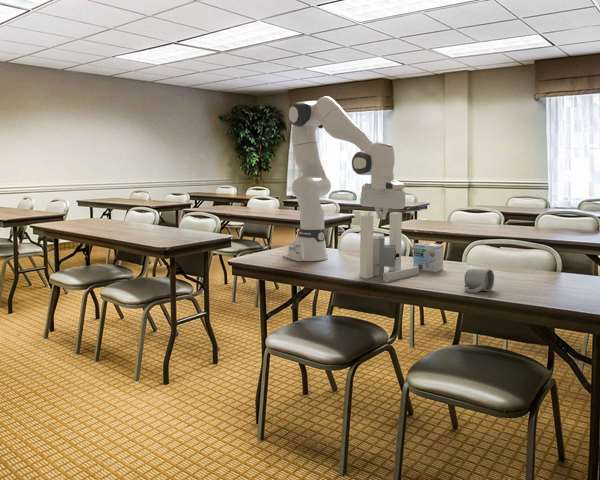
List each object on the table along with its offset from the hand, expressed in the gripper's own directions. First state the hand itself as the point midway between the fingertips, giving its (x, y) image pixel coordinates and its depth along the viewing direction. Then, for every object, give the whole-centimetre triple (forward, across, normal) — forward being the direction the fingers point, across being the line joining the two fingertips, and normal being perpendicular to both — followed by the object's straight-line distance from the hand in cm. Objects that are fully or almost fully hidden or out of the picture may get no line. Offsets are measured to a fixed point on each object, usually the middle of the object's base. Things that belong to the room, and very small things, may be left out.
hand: (381, 219), depth 211 cm
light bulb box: (+22, +8, +21) cm, 32 cm away
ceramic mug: (+22, +42, +2) cm, 47 cm away
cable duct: (+22, +10, 0) cm, 24 cm away
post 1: (+22, 0, -9) cm, 24 cm away
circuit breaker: (+22, 0, 0) cm, 22 cm away
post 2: (+22, 0, +9) cm, 24 cm away
